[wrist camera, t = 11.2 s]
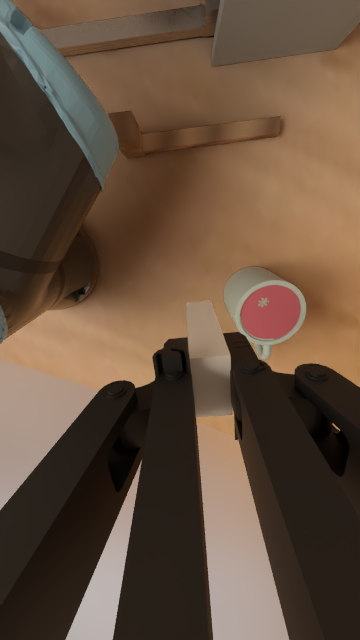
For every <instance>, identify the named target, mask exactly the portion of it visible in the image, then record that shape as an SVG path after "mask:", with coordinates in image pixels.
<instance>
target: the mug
mask: <svg viewBox="0 0 360 640" xmlns="http://www.w3.org/2000/svg"><path fill="white" fill-rule="evenodd" d="M223 297H224V302H225V305H226V307H227V309H228V311H229V313H230V315H231V317H232V319H233V321H234V323H235V324H236V326H237V328H238V330H239V332H240V333H241V334H243V335H245V336H246V338H247V339H248V341H250V342H252V343H254V346H255V349H256V352H257V354H258V356H259V357H260V358H261V359H262V360H267V359H269V357H270V355H271V345H274V344H278V343H281V342H283V341H285V340H287V339H288V338H290V337H291V336H293V335H294V334H295V333H296V332H297V331H298V329H299V328H300V327H301V325H302V323H303V321H304V319H305V315H306V302H305V298H304V296H303V294H302V293H301V291H300V290H299V289H298V288H297V287H295V286H294V285H292V284H291V283H289V282H287V281H285V280H284V279H282V278H280V277H279V276H277V275H275V274H273V273H272V272H270V271H268V270H266V269H264V268H262V267H256V266H252V267H246V268H243V269H241V270H239V271H237V272H236V273H234V274H233V275H232V276H231V277H230V278H229V280H228V281H227V283H226V285H225V288H224V293H223ZM262 345H263V347H262Z"/></svg>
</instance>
